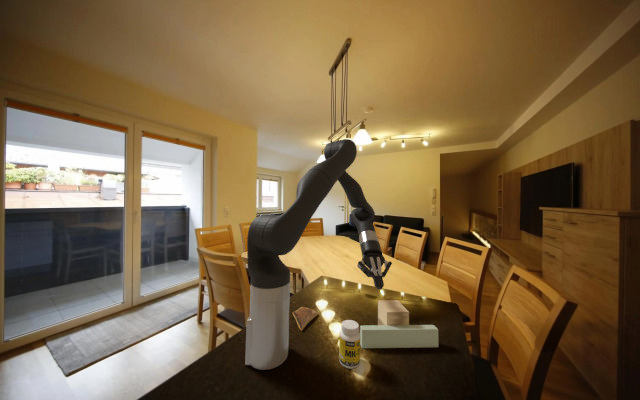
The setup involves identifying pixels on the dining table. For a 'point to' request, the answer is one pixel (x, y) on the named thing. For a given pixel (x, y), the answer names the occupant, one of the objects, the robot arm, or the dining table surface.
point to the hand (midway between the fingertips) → (380, 288)
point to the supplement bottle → (349, 344)
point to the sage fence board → (398, 336)
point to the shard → (304, 316)
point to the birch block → (392, 313)
